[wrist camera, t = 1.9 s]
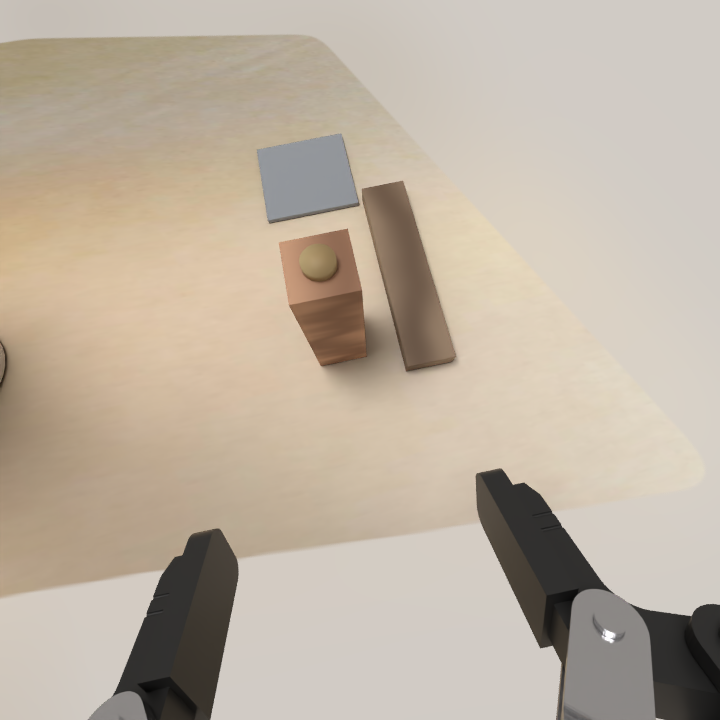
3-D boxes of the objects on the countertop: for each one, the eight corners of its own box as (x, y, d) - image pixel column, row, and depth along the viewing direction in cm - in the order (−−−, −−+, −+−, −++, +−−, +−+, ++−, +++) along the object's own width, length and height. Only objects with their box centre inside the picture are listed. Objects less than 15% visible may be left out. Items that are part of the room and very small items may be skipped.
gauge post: (321, 366, 31) (286, 300, 19) (313, 323, 32) (276, 236, 20) (366, 356, 31) (361, 284, 19) (357, 314, 32) (346, 221, 20)
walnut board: (406, 371, 30) (407, 366, 29) (362, 200, 35) (361, 188, 34) (452, 361, 30) (455, 356, 29) (401, 192, 35) (402, 180, 34)
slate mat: (269, 223, 35) (267, 220, 35) (258, 153, 38) (256, 149, 37) (358, 205, 35) (358, 202, 35) (341, 136, 38) (341, 133, 37)
